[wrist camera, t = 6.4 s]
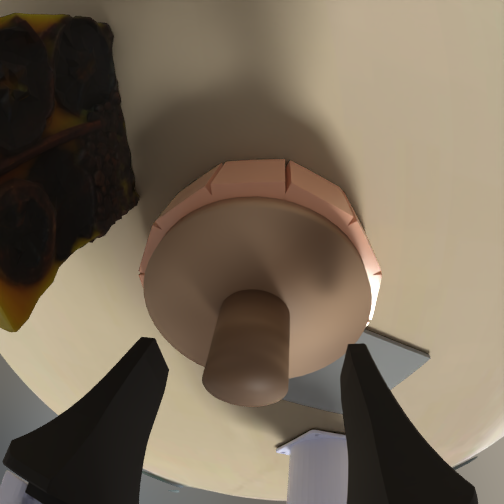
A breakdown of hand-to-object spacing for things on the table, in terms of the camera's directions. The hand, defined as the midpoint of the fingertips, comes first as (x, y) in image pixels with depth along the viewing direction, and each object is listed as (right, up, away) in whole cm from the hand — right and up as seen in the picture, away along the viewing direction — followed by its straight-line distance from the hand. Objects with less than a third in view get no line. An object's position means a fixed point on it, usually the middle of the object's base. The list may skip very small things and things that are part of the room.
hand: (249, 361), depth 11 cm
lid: (0, +2, +3) cm, 3 cm away
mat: (+7, -6, +11) cm, 14 cm away
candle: (-11, +11, +3) cm, 16 cm away
